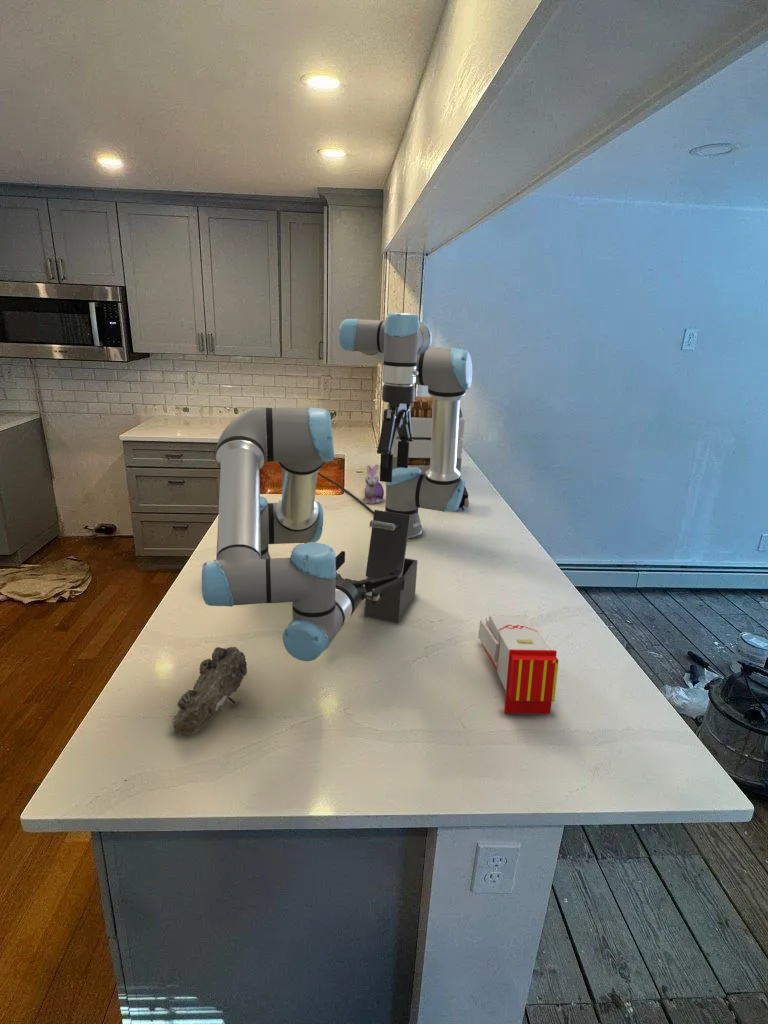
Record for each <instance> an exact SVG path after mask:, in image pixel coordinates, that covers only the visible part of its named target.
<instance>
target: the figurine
mask: <svg viewBox="0 0 768 1024" xmlns="http://www.w3.org/2000/svg"><path fill="white" fill-rule="evenodd" d="M378 469H379V465H378V464H375V465H374V466H373V468H371V465H369V464H368V465H366V475H365V479H364V480H365V484H366V485H365V487H364V492H363V493H364V497H363V501H364V504H370V505H374V504H379V503H381V502H383V501H384V497H385V496H384V495H385V490H384V487H383V484H381V483H380V477H379V475H378V473H377V472H378Z"/></svg>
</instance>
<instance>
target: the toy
mask: <svg viewBox="0 0 768 1024" xmlns="http://www.w3.org/2000/svg"><path fill="white" fill-rule="evenodd" d="M477 635H478V637H477V638H478V639H479V641H480V643H481V645H482V647H483V649H484V651H485V652H486V654H487V655H488V658H489V659H490V661H491V663H492V665H493V667H494V669H495V671H496V672H497V675H498V677H499V679H500V682H501V684H502V685H503V688H504V690H505V699H504V709H503V712H504V714H522V715H523V714H528V715H535V714H536V715H540V714H541V715H551V710H552V702H555V700H556V699H555V698H556V688H557V679H558V672H559V671H558V669H559V661H560V660H559V659H558V658H557V649H551V648H550V646H549V645H548V643H547V642H546V640H545V639H544V638H543V636H542V635H541V634H540V632H539V630H538V629H536V626H535V624H533V622H532V619H530V618H529V617H528V615H527V614H501V613H500V614H495V613H493V614H492V613H489V614H488V616H486V617H485V622H484V620H483V619H480V620H479V628H478V634H477Z"/></svg>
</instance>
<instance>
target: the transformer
mask: <svg viewBox="0 0 768 1024" xmlns="http://www.w3.org/2000/svg"><path fill="white" fill-rule="evenodd" d="M387 403H388V402H387ZM432 403H433V398H432V397H431V396H415V400H414V402H413V403H410V404H411V406H410V413H411V426H412V437H413V441H412V442H410V441H408V442H409V457H408V467H417V466H418V467H430V458H431V430H432ZM389 406H390V405H389V403H388V404H387V405H386V409H389ZM464 429H465V419H464V418H463V411H462V408H461V407H460V411H459V428H458V444H457V461H456V469H457V470H458V471H459V472H460V475H461V472H462V461H463V460H462V453H463V442H464V441H463V440H462V439H463V438H464V431H465V430H464ZM398 441H401V440H400V439H399V435H398V431H397V435H396V438H395V442H394V446H393V450H392V454H393V469H396V468H401V467H397V452H398ZM393 469H392V470H393Z"/></svg>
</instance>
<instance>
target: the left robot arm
mask: <svg viewBox="0 0 768 1024" xmlns="http://www.w3.org/2000/svg"><path fill="white" fill-rule="evenodd" d="M331 416H332V415H331V413H330V411H329V410H328V409H326V408H321V407H314V406H310V407H266V406H265V407H264V406H261V407H260V406H259V407H254V408H250V409H248V410H246V411H243V412H241V413H240V414H238V415H237V416H236V417H234V419H233V420H231V421H230V422H229V423H228V424H227V426H226V427H225V428H224V430H223V431H222V433H221V434H220V436H219V438H218V441H217V445H216V448H215V449H216V451H215V462H216V464H217V466H218V467H219V470H220V474H219V475H220V476H219V491H218V492H219V496H218V497H219V498H218V514H217V515H218V517H217V534H216V535H217V536H216V554H215V555H216V558H215V559H213V560H210V561H205V562H204V563H203V564H202V569H201V594H202V600H203V602H204V603H205V605H207V606H208V607H209V606H210V607H231V608H232V607H234V606H247V605H260V604H261V605H262V604H278V603H280V604H281V603H291V610H292V611H291V612H292V615H291V616H292V618H291V621H290V622H289V623H288V624H287V627H286V628H285V629H284V632H283V634H282V643H283V646H284V648H285V650H286V652H287V653H288V654H289V655H290V656H291V657H293V658H294V659H296V660H297V661H302V662H312V661H314V660H316V659H318V658H319V657H320V656H321V655H322V654H323V653H324V652H325V651H326V650H327V649H328V648H329V646H330V644H331V643H332V642H333V641H334V639H335V638H336V636H337V635H338V633H339V632H340V631H341V629H342V628H343V626H344V625H345V624H346V623H347V621H348V620H349V619H350V617H352V615H353V614H354V612H355V611H356V610H357V608H358V607H359V605H360V603H361V602H362V601H365V598H366V599H369V600H372V602H371V603H372V604H377V603H378V602H379V601H380V600H382V599H384V598H387V597H389V596H391V595H393V594H395V593H398V592H400V591H402V590H404V589H405V578H404V577H402V571H401V570H402V561H398V563H397V564H396V565H395V567H394V568H393V569H392V571H391V572H390V576H385V577H381V578H377V579H373V580H368V579H366V578H363V579H360V580H358V579H357V580H356V579H350V578H344V577H343V576H342V575H341V574H340V573H338V572H337V571H338V570H339V569H340V568H341V567H342V566H343V565H344V564H345V562H346V551H344V550H341V551H340V552H339V553H338V554H337V555H336V552H335V550H334V549H333V548H332V547H331V546H330V545H328V544H325V543H323V542H318V541H319V540H321V537H322V534H323V527H324V510H323V505H322V504H321V502H319V501H316V489H317V484H318V483H317V481H318V476H319V475H318V473H319V471H321V469H322V468H323V467H324V465H325V463H329V462H332V461H334V460H335V450H334V449H335V448H334V438H333V436H334V435H333V428H332V427H333V426H332V417H331ZM266 462H267V463H274V462H275V463H277V464H278V465H279V466H280V468H281V497H280V498H279V499H278V501H277V502H269V501H268V500H267V498H265V497H264V496H261V490H260V484H261V483H260V482H261V481H260V480H261V479H260V470H261V469H262V467H263V466H264V463H266ZM284 544H286V545H287V544H297V545H296V546H294V547H293V548H292V551H291V554H290V557H276V558H275V557H274V558H272V557H271V553H270V551H269V545H284Z"/></svg>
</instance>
